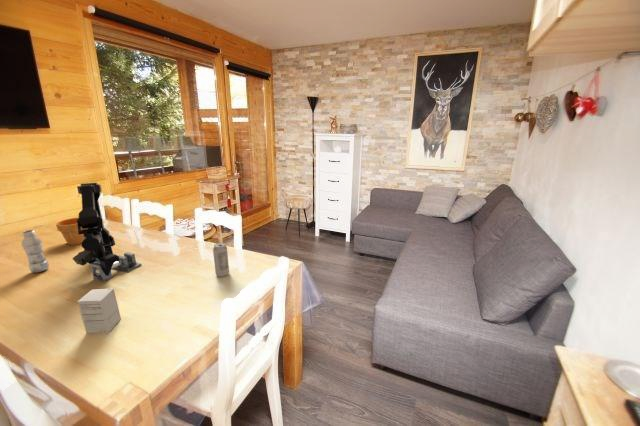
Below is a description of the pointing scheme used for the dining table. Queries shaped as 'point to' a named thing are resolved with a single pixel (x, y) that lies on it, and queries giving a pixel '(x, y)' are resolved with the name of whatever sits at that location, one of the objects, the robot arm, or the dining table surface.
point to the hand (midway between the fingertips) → (102, 274)
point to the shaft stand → (124, 263)
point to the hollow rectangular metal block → (102, 275)
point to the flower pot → (70, 231)
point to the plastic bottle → (34, 252)
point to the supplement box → (99, 310)
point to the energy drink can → (221, 259)
